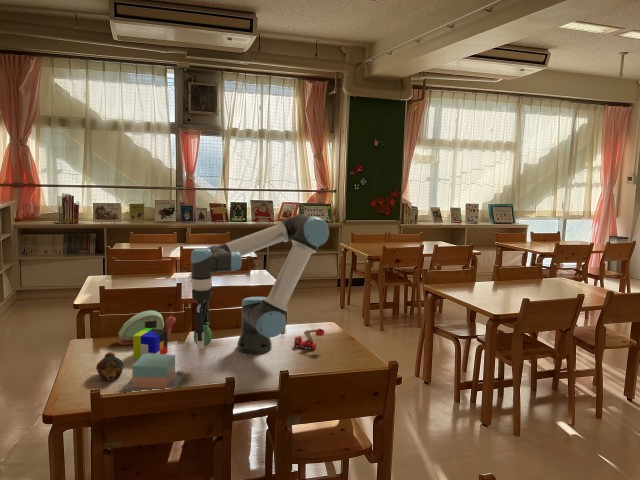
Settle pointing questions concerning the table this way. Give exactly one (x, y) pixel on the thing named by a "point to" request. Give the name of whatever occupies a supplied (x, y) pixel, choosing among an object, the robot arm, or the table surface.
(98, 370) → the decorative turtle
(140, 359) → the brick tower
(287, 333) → the table surface
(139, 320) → the toy snail
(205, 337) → the alien toy
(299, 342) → the toy fire truck
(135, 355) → the puzzle toy
